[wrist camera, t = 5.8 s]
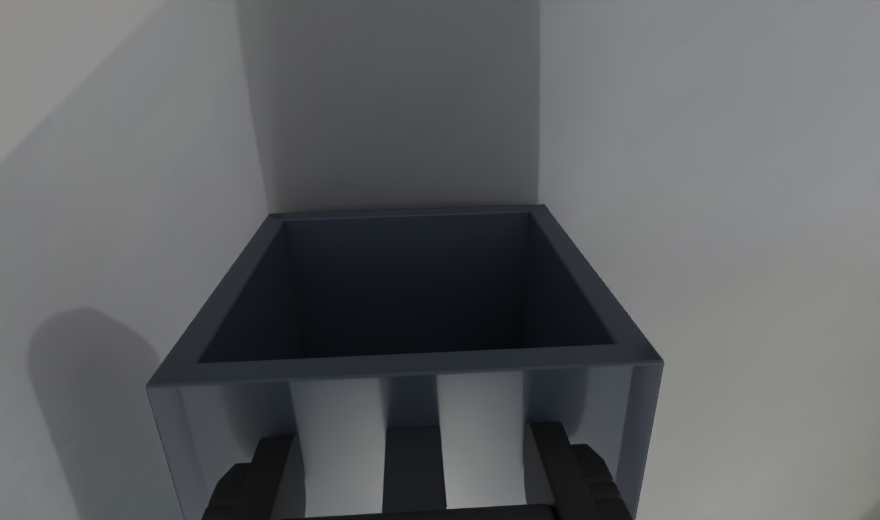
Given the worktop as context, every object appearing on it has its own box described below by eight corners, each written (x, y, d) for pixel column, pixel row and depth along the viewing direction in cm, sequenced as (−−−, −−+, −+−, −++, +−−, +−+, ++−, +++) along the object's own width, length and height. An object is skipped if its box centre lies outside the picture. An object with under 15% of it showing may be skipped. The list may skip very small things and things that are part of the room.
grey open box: (297, 397, 25) (269, 213, 21) (533, 386, 25) (545, 203, 22) (169, 837, 11) (31, 540, 8) (675, 794, 12) (770, 495, 8)
